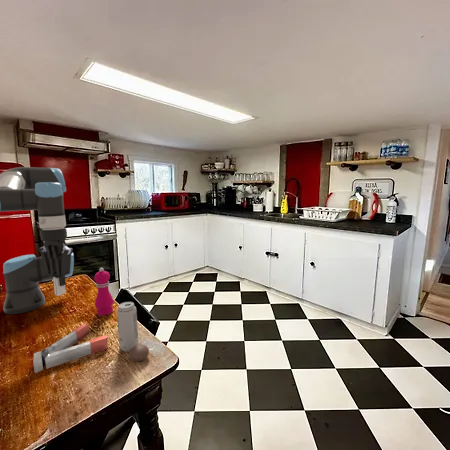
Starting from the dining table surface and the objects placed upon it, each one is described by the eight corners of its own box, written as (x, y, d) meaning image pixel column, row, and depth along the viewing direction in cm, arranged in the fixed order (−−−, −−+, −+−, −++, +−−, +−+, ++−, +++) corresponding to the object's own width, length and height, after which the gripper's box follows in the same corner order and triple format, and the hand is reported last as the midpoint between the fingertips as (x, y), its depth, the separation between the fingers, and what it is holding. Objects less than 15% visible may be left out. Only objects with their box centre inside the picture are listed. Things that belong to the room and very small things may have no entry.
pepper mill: (107, 316, 106) (103, 270, 103) (92, 315, 107) (87, 270, 105) (117, 308, 113) (114, 265, 110) (103, 307, 114) (99, 264, 112)
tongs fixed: (34, 373, 74) (32, 359, 73) (35, 363, 78) (33, 350, 77) (108, 348, 85) (107, 335, 84) (105, 341, 89) (104, 329, 88)
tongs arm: (48, 361, 78) (46, 350, 78) (43, 360, 79) (41, 349, 78) (89, 333, 93) (88, 324, 93) (85, 333, 94) (84, 323, 94)
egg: (125, 360, 79) (124, 348, 78) (141, 350, 84) (140, 339, 83) (137, 367, 75) (136, 355, 75) (153, 357, 80) (152, 345, 80)
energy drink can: (120, 343, 87) (117, 302, 85) (138, 340, 89) (136, 299, 87) (118, 354, 82) (115, 310, 80) (138, 350, 83) (135, 307, 81)
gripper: (27, 229, 85) (35, 296, 88) (58, 230, 81) (65, 300, 84) (48, 226, 92) (55, 288, 95) (78, 227, 88) (84, 291, 91)
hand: (60, 293), depth 89 cm, fingers closed
